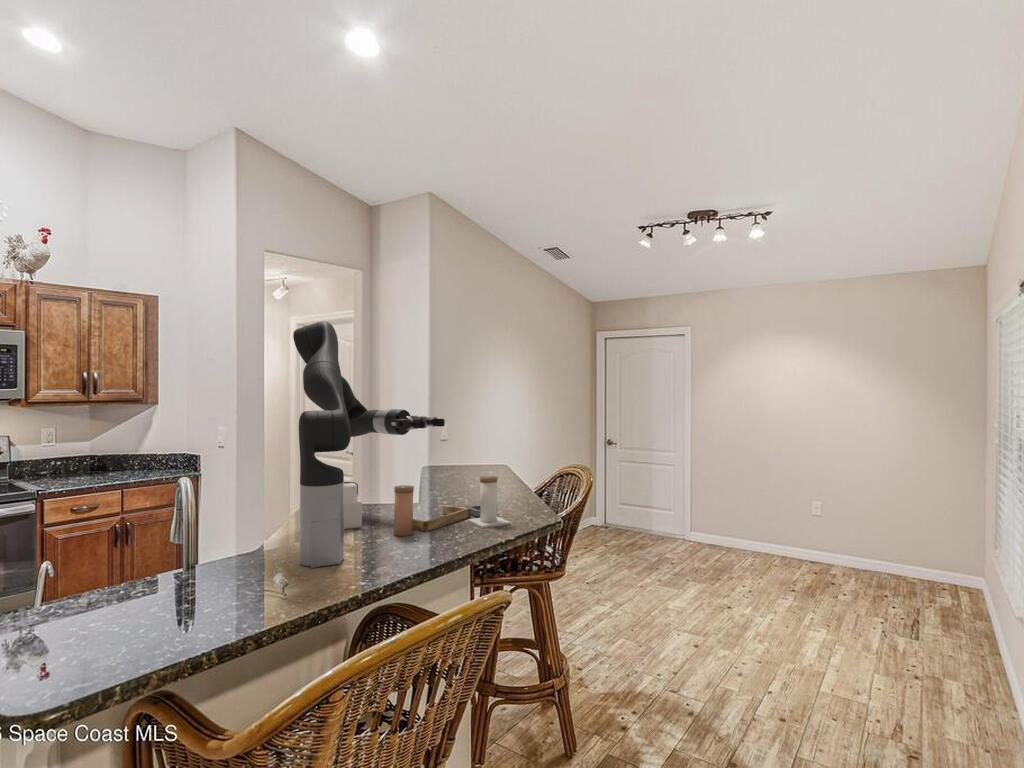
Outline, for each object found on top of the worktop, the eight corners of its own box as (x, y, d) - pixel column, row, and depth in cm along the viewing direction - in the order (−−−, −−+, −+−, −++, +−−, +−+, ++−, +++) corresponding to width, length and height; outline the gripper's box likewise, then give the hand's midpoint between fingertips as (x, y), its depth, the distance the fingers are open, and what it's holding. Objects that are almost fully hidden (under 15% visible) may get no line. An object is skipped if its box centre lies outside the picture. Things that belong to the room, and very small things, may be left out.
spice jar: (500, 521, 162) (500, 477, 162) (484, 523, 160) (484, 478, 160) (492, 517, 166) (492, 475, 167) (476, 519, 164) (477, 476, 164)
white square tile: (510, 524, 161) (510, 522, 161) (481, 528, 157) (481, 525, 157) (495, 517, 169) (495, 515, 169) (467, 521, 165) (467, 519, 165)
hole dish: (497, 515, 173) (497, 508, 173) (476, 517, 169) (476, 510, 169) (487, 510, 179) (487, 504, 179) (466, 513, 175) (466, 506, 175)
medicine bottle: (331, 524, 161) (331, 481, 162) (357, 522, 164) (357, 479, 165) (335, 530, 155) (335, 485, 155) (362, 527, 158) (362, 483, 158)
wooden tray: (470, 517, 170) (470, 508, 170) (426, 531, 153) (426, 522, 153) (444, 513, 175) (444, 505, 175) (399, 527, 158) (399, 518, 158)
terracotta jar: (415, 534, 150) (416, 487, 151) (397, 536, 147) (398, 488, 148) (408, 530, 154) (409, 484, 155) (390, 532, 152) (391, 486, 152)
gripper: (374, 410, 166) (418, 411, 158) (408, 408, 179) (449, 409, 170) (374, 436, 166) (418, 438, 158) (408, 432, 179) (450, 434, 170)
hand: (434, 423), depth 164 cm, fingers open, 8 cm apart
